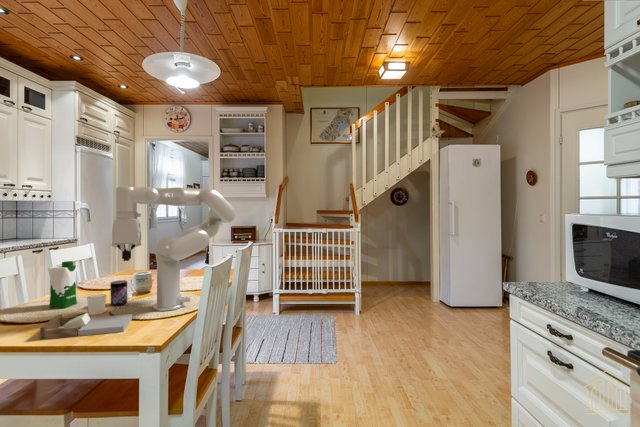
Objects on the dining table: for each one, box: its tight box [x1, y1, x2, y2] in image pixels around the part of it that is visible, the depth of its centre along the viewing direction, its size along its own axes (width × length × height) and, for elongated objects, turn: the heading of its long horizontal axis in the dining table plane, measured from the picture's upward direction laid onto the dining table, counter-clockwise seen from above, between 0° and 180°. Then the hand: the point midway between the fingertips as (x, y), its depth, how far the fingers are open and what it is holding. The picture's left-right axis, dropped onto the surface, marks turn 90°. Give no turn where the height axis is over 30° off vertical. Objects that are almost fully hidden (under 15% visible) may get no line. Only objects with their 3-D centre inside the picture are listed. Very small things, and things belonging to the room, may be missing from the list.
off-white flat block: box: [63, 312, 91, 329], centre depth 122 cm, size 6×6×3 cm
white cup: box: [86, 294, 107, 316], centre depth 141 cm, size 7×7×7 cm
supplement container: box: [110, 279, 128, 307], centre depth 153 cm, size 7×7×10 cm
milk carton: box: [47, 260, 79, 309], centre depth 149 cm, size 9×9×20 cm
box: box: [39, 314, 92, 340], centre depth 121 cm, size 11×14×4 cm
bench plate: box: [77, 313, 133, 337], centre depth 125 cm, size 14×14×2 cm
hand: (126, 260), depth 137 cm, fingers closed
